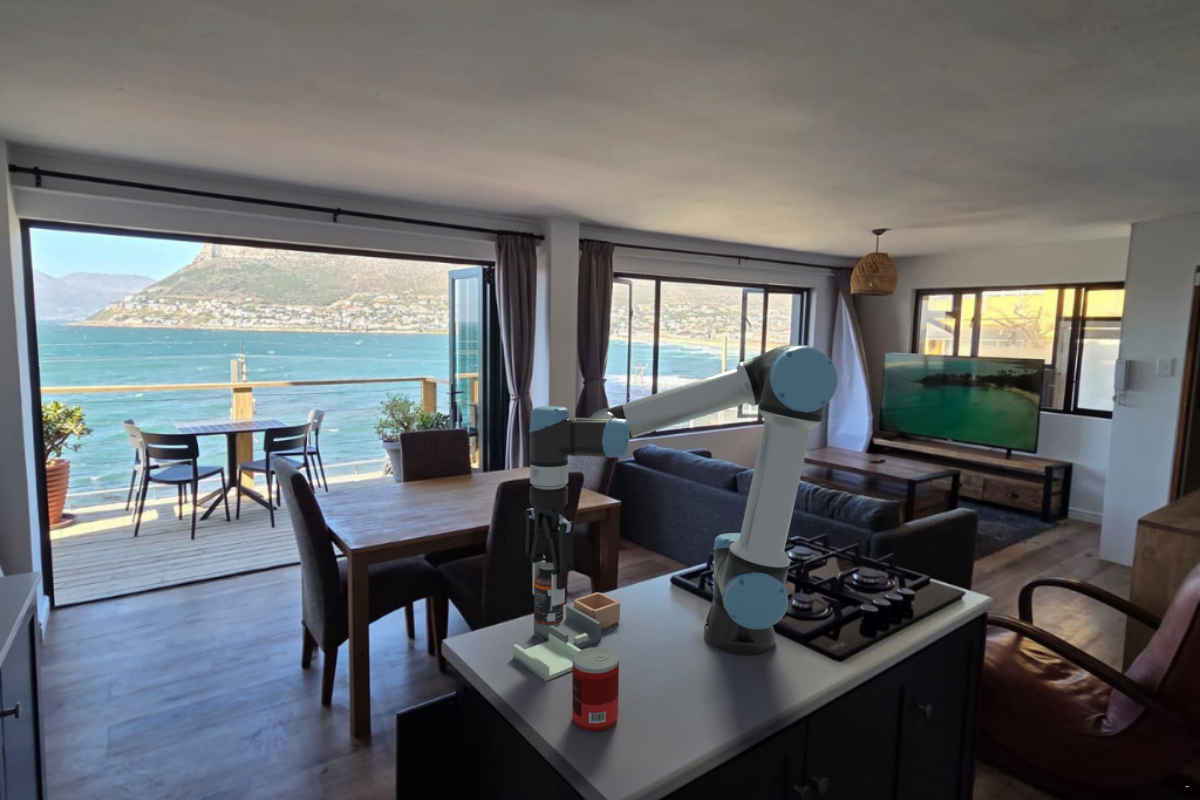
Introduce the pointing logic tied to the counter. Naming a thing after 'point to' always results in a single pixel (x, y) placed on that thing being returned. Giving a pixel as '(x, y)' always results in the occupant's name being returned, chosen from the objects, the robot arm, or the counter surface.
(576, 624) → the checker cradle
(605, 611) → the open cardboard box
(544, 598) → the supplement bottle
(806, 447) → the robot arm
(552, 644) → the trough
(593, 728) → the canned food
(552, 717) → the counter surface
